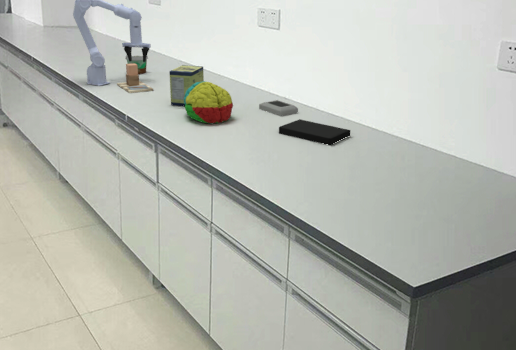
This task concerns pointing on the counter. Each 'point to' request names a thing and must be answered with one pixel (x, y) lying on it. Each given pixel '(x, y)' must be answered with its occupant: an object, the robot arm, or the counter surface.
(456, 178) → the counter surface
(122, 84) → the baseplate
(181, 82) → the protein box
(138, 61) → the food container
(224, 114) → the brain model
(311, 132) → the black microchip
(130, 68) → the terracotta block
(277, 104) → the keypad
